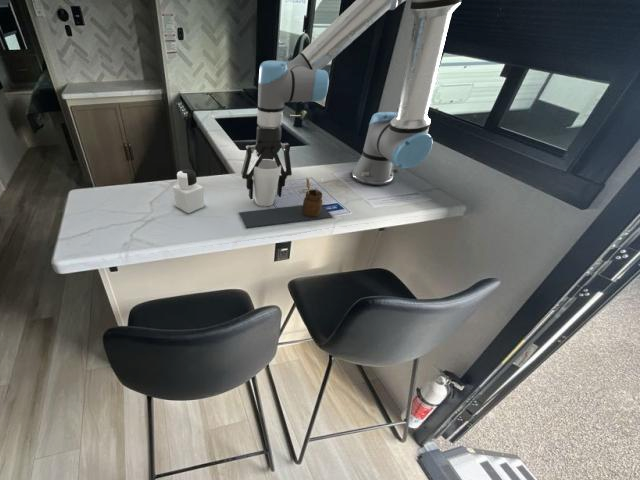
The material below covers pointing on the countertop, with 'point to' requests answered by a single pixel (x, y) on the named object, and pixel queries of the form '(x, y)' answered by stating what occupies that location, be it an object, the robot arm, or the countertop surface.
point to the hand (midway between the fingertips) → (264, 196)
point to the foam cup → (266, 181)
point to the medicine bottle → (188, 192)
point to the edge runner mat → (279, 216)
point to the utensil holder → (312, 201)
